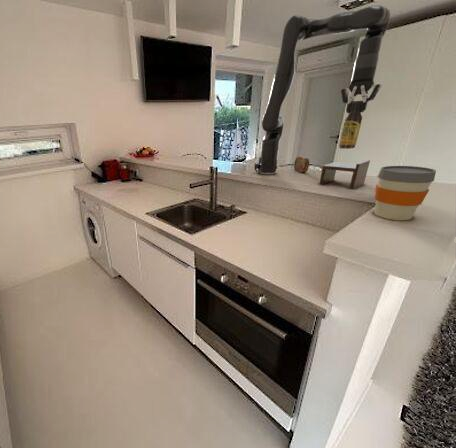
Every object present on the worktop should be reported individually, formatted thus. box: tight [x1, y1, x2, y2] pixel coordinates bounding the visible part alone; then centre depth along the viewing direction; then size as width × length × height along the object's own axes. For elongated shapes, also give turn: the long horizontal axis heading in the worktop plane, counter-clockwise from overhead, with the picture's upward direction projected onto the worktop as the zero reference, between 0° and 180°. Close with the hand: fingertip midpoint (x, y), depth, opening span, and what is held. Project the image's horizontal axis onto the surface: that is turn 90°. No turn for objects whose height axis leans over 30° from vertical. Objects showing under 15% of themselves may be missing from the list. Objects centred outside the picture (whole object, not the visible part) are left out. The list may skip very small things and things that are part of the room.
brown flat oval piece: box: [293, 155, 310, 173], centre depth 147 cm, size 15×3×8 cm, turn 172°
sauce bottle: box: [338, 100, 363, 150], centre depth 110 cm, size 6×6×20 cm
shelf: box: [318, 159, 371, 190], centre depth 115 cm, size 14×12×11 cm
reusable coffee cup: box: [374, 165, 437, 221], centre depth 77 cm, size 12×13×15 cm
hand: (355, 112), depth 108 cm, fingers closed on sauce bottle, 4 cm apart
